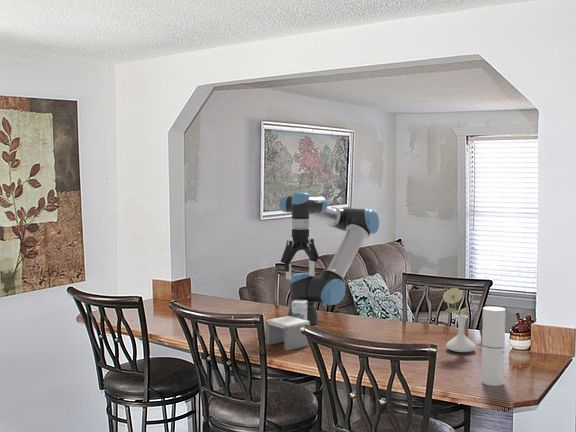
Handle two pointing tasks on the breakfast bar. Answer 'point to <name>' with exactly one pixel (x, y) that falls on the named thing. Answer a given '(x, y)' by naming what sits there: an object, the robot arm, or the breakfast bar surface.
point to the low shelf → (286, 332)
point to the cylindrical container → (493, 346)
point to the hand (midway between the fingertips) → (300, 277)
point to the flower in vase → (460, 341)
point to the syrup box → (299, 309)
